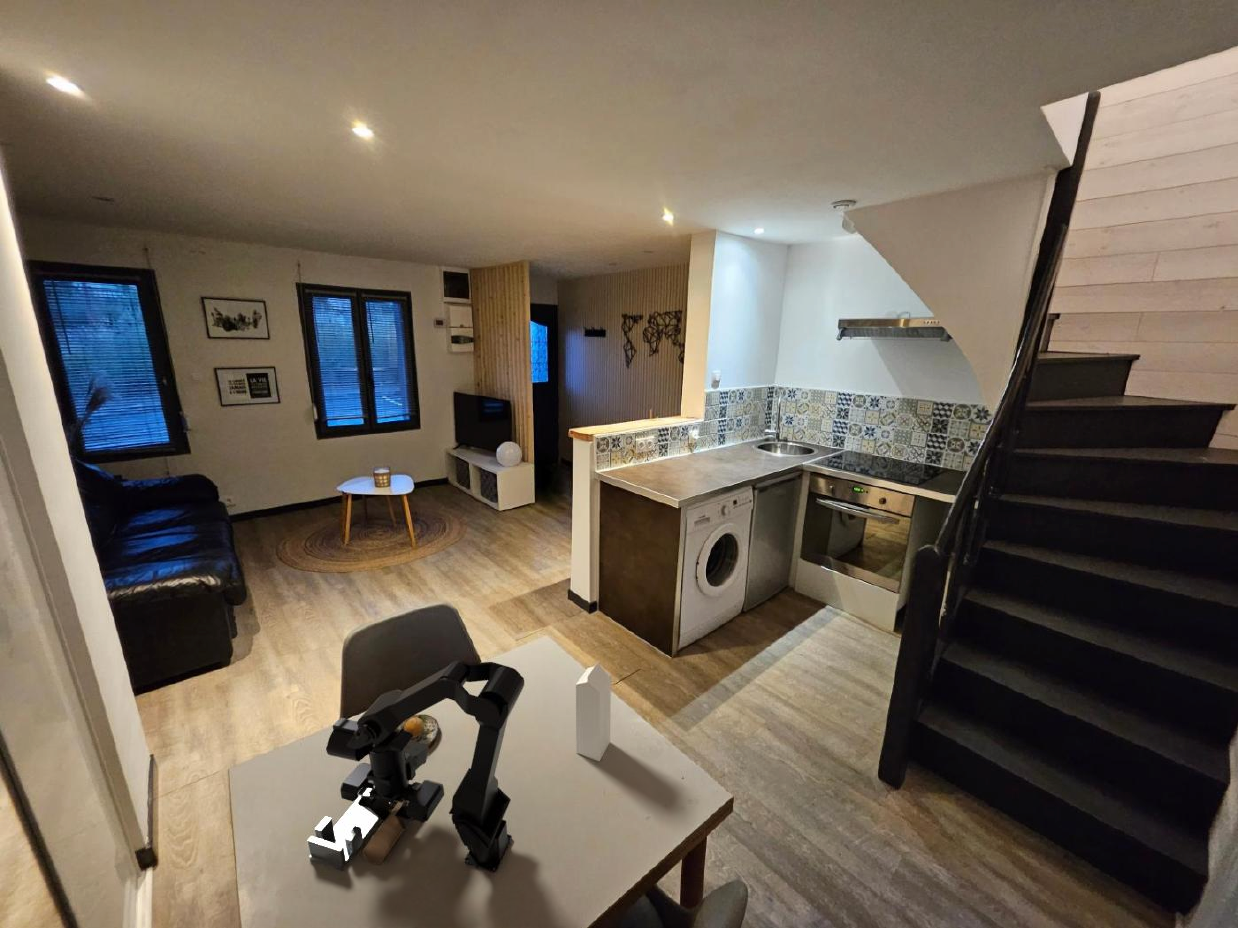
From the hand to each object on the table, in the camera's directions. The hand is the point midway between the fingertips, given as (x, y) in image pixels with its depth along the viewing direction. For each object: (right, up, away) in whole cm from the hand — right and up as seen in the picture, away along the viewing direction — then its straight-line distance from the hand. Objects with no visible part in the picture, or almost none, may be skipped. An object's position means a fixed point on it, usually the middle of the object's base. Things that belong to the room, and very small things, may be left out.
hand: (397, 824), depth 92 cm
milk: (+37, +3, +19) cm, 42 cm away
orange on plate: (-6, +4, +21) cm, 22 cm away
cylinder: (0, -1, 0) cm, 1 cm away
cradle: (-8, 0, +2) cm, 8 cm away
